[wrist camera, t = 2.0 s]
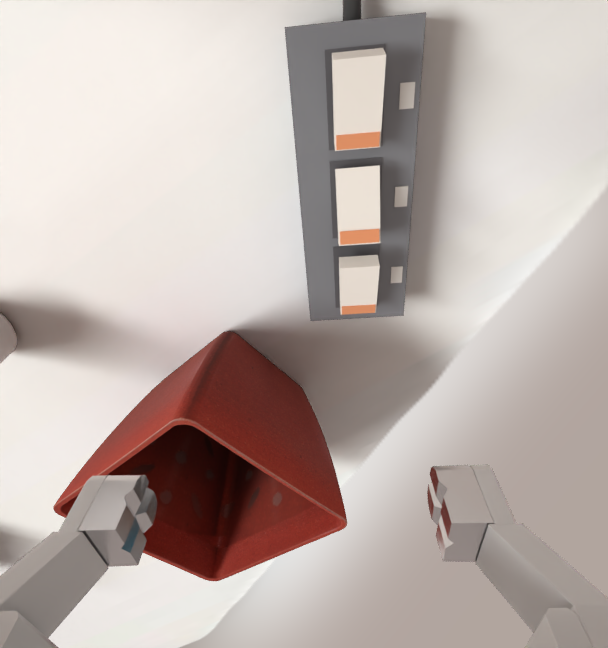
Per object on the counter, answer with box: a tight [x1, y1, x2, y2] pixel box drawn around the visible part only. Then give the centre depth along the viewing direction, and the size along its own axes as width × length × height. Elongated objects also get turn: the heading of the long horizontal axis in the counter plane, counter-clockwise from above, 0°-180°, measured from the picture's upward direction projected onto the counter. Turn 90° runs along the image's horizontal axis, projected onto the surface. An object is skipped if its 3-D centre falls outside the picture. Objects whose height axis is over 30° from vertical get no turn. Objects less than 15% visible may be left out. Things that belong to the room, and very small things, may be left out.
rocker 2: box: [335, 165, 380, 246], centre depth 30 cm, size 6×3×2 cm, turn 5°
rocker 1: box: [332, 48, 386, 151], centre depth 26 cm, size 6×3×2 cm, turn 4°
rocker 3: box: [339, 255, 380, 315], centre depth 34 cm, size 6×3×2 cm, turn 4°
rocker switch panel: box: [285, 0, 426, 321], centre depth 31 cm, size 29×9×4 cm, turn 5°
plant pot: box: [54, 331, 347, 581], centre depth 41 cm, size 19×19×17 cm
